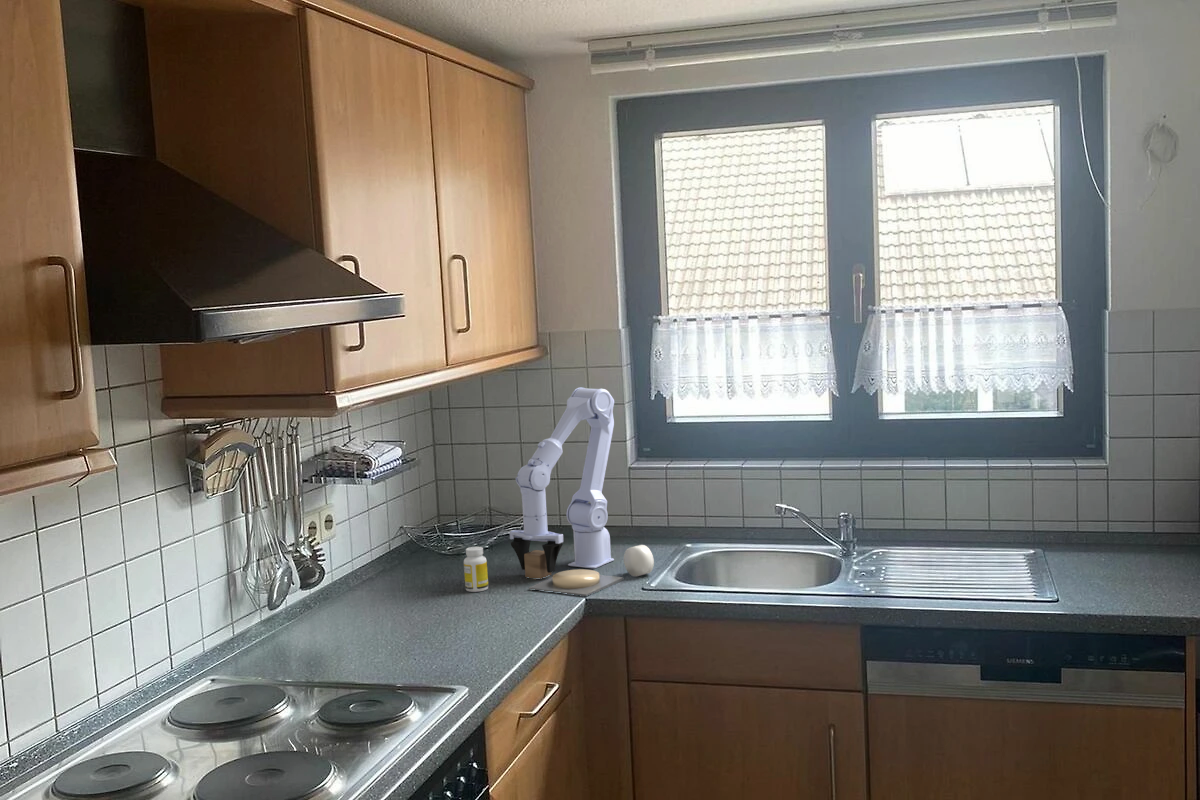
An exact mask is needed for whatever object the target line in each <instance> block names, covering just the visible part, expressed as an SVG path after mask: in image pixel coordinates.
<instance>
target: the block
mask: <svg viewBox="0 0 1200 800" xmlns="http://www.w3.org/2000/svg"><path fill="white" fill-rule="evenodd" d="M524 561H525V570H524V576H525V577H529V578H540V579H541V578H543V577H546V576H548V575H551V576H552V572H551V573H548V572H547V566H546V557H545V553H544V550H539V549H534V550H531V551H529V552H528V553H526V554H524Z"/></svg>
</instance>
